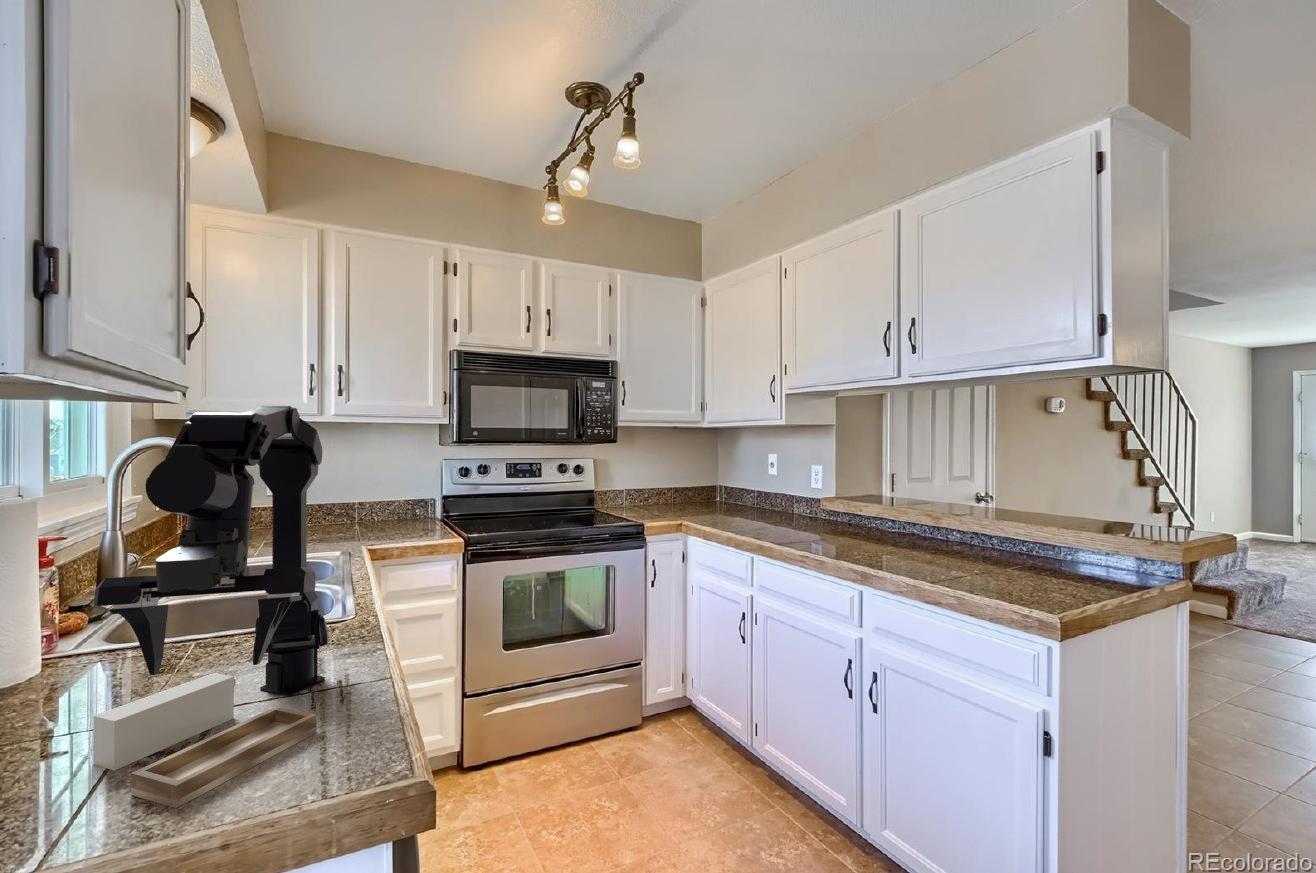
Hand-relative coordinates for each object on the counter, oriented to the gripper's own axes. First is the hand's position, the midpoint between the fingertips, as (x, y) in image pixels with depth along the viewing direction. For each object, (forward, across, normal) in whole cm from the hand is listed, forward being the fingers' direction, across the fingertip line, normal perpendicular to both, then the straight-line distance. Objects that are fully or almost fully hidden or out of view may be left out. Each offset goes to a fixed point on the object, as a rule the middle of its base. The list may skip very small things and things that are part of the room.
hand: (206, 669), depth 64 cm
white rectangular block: (+11, -11, +21) cm, 26 cm away
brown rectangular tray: (+12, -1, +13) cm, 18 cm away
